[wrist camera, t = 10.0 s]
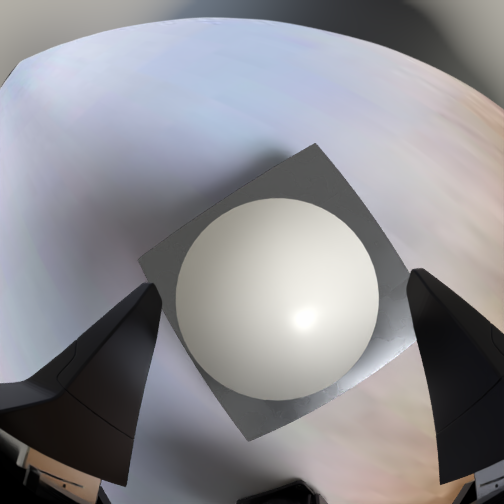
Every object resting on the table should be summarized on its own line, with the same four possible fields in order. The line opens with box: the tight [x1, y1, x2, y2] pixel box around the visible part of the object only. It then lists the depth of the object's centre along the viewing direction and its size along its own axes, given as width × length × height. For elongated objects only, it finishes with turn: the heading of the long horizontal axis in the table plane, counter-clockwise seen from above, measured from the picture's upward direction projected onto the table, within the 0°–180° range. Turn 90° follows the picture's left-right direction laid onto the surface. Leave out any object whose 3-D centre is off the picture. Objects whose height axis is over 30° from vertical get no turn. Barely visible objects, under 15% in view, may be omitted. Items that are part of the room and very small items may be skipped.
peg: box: [176, 198, 379, 401], centre depth 12 cm, size 4×4×13 cm
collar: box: [138, 143, 417, 442], centre depth 16 cm, size 13×13×4 cm
